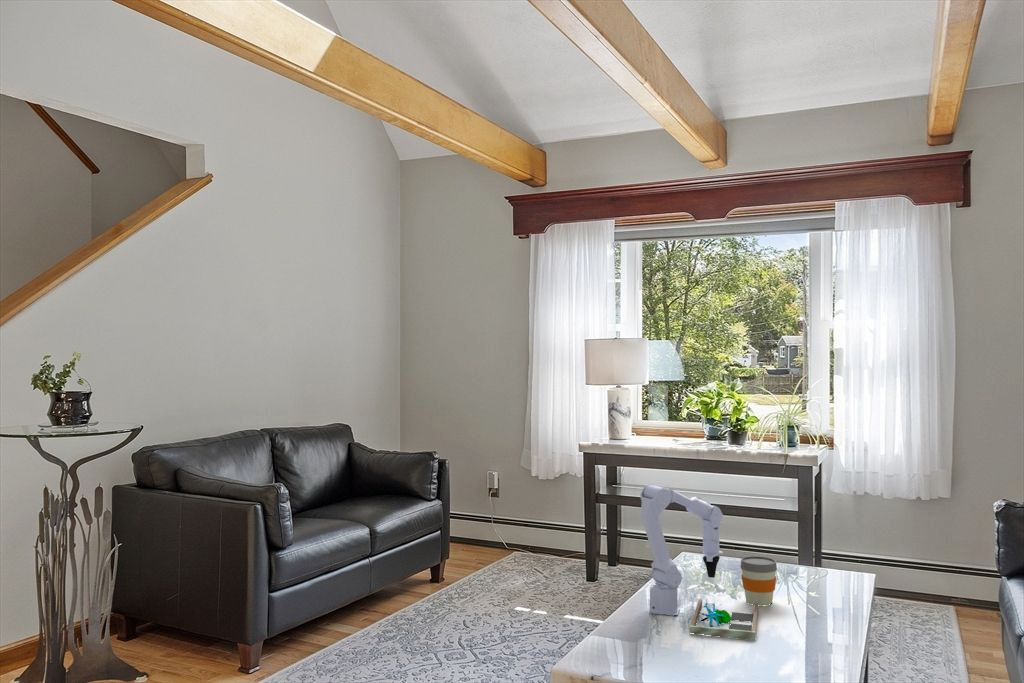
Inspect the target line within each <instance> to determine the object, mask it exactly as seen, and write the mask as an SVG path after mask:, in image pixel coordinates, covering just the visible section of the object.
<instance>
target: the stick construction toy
mask: <svg viewBox="0 0 1024 683" xmlns="http://www.w3.org/2000/svg"><path fill="white" fill-rule="evenodd" d="M711 605H712V609H710V608H709V607H708V603H707V602H706V603H705V604H704V605H703V608H706V610H707V612H708V613H700V614H701V616H704V618H702V619H700V622H701V621H703V622H705V621H706V622H709V627H714V626H713V624H712V623H713V622H712V621H715V623H716V624H717V626H719V627H721V625H723V624H722V623H724V624H726V623H727V624H729V623H731V621H732V620H731V614H730V613H729V612H728V611H727V610H725V609H722V610H720V609H718V608H717V609H716V603H712V604H711ZM728 622H729V623H728Z"/></svg>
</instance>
